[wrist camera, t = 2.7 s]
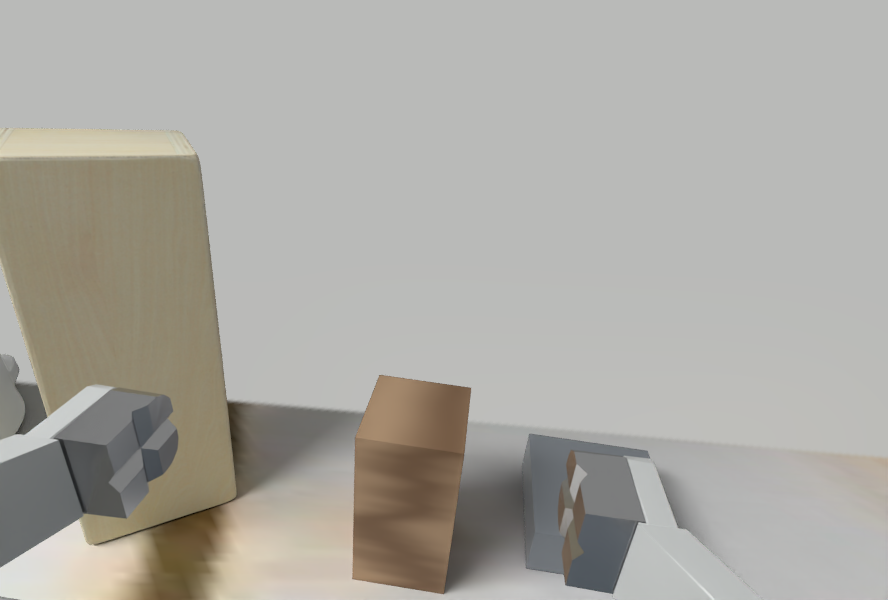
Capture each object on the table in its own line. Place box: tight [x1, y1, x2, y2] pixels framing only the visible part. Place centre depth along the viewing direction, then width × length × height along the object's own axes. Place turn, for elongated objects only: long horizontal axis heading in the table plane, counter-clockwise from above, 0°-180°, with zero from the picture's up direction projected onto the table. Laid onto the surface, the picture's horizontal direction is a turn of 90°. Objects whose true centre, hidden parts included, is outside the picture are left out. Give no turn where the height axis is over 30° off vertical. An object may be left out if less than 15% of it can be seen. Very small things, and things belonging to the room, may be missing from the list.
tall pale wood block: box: [0, 128, 237, 545], centre depth 28 cm, size 8×7×21 cm
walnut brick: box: [353, 375, 471, 594], centre depth 27 cm, size 5×5×10 cm
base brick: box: [522, 434, 650, 574], centre depth 32 cm, size 8×8×3 cm
